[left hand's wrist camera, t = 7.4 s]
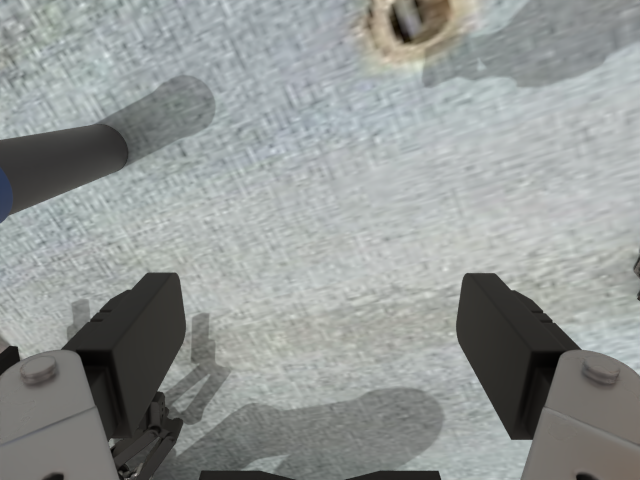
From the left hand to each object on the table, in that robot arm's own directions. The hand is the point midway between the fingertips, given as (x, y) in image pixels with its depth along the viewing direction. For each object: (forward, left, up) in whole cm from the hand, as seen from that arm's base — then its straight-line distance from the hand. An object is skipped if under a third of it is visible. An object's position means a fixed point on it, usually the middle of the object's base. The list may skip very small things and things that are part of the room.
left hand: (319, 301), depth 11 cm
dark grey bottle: (0, -21, -29) cm, 36 cm away
